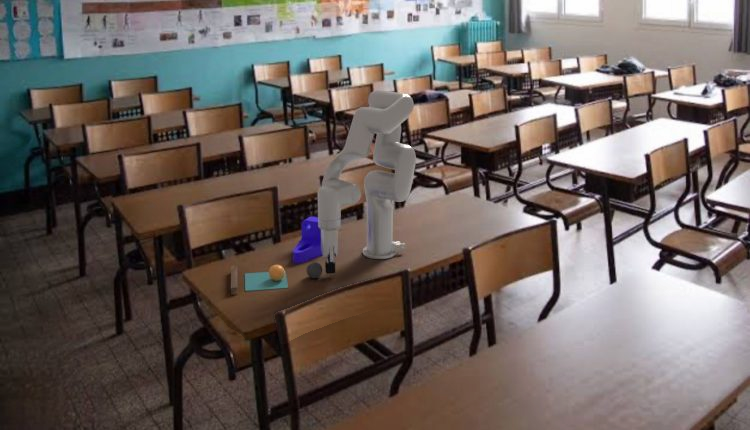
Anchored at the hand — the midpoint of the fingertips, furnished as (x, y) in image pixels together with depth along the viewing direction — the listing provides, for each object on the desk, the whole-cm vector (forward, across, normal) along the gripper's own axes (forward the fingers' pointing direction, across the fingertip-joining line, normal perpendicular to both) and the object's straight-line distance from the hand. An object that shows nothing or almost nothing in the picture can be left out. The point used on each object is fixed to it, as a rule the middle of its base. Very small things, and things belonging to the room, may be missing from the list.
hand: (330, 272), depth 249 cm
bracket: (+2, -21, -6) cm, 22 cm away
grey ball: (-1, 0, -6) cm, 6 cm away
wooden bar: (+2, 0, -32) cm, 33 cm away
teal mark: (+2, 0, -22) cm, 22 cm away
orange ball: (-1, 0, -18) cm, 18 cm away
